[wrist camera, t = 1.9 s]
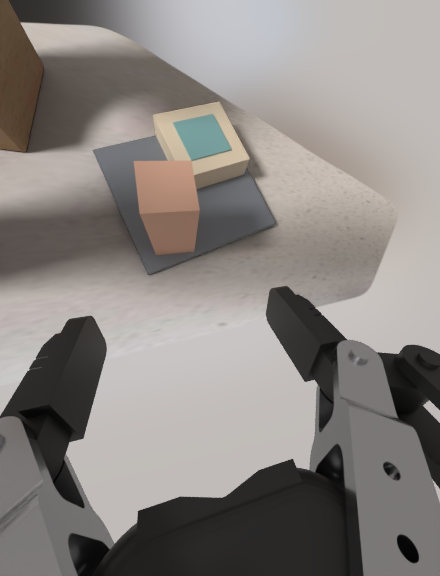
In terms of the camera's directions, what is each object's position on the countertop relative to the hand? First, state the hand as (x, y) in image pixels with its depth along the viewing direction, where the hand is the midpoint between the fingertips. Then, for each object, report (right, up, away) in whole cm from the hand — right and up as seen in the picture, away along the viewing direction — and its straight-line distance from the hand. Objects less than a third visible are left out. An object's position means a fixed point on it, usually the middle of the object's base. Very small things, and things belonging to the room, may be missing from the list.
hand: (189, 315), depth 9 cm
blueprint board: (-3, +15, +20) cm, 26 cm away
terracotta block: (-5, +8, +18) cm, 20 cm away
